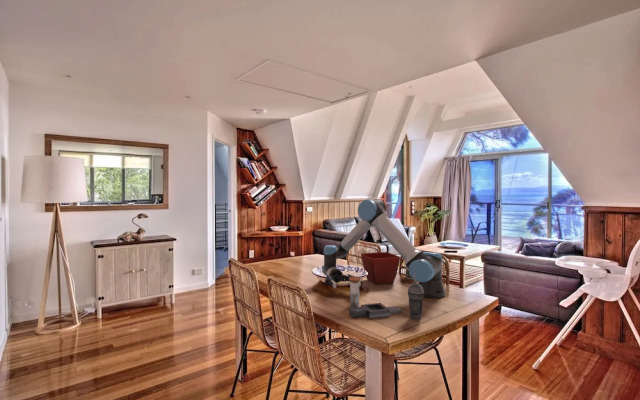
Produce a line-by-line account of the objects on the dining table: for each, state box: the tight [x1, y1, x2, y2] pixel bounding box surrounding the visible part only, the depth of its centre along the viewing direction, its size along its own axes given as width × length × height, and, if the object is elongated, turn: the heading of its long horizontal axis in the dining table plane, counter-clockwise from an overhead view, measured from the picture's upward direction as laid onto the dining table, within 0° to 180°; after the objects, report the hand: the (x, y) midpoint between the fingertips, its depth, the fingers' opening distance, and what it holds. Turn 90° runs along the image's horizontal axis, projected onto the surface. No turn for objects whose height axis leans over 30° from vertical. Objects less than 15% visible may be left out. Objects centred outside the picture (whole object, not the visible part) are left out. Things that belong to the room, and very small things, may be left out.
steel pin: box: [348, 275, 361, 308], centre depth 166 cm, size 6×6×14 cm
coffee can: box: [405, 266, 414, 281], centre depth 220 cm, size 10×10×14 cm
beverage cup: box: [407, 273, 425, 321], centre depth 150 cm, size 7×7×20 cm
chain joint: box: [348, 302, 402, 319], centre depth 156 cm, size 24×10×3 cm, turn 106°
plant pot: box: [360, 251, 401, 285], centre depth 211 cm, size 19×19×17 cm
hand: (347, 284), depth 175 cm, fingers open, 13 cm apart
